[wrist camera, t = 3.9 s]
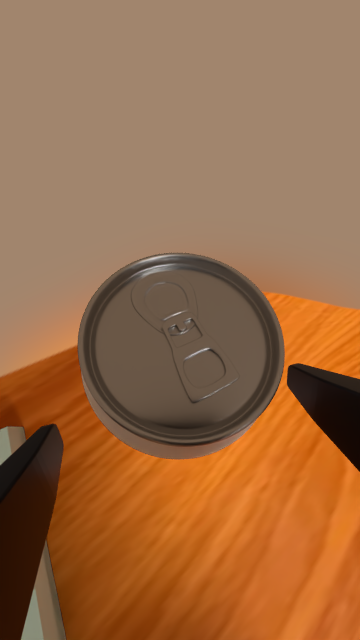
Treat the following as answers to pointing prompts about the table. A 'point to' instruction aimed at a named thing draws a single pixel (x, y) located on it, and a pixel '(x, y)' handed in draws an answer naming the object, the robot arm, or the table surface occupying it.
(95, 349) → the can
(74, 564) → the table surface
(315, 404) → the robot arm
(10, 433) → the tray
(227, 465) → the table surface
